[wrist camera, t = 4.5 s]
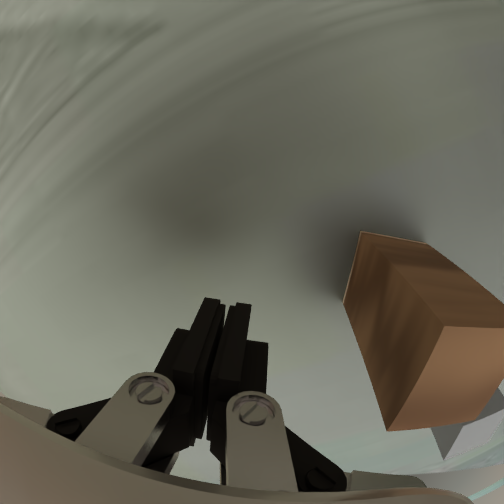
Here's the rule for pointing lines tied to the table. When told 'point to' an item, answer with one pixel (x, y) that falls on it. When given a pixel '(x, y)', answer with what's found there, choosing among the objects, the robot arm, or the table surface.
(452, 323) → the walnut block
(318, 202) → the table surface
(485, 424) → the slate block
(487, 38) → the table surface
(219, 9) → the table surface
